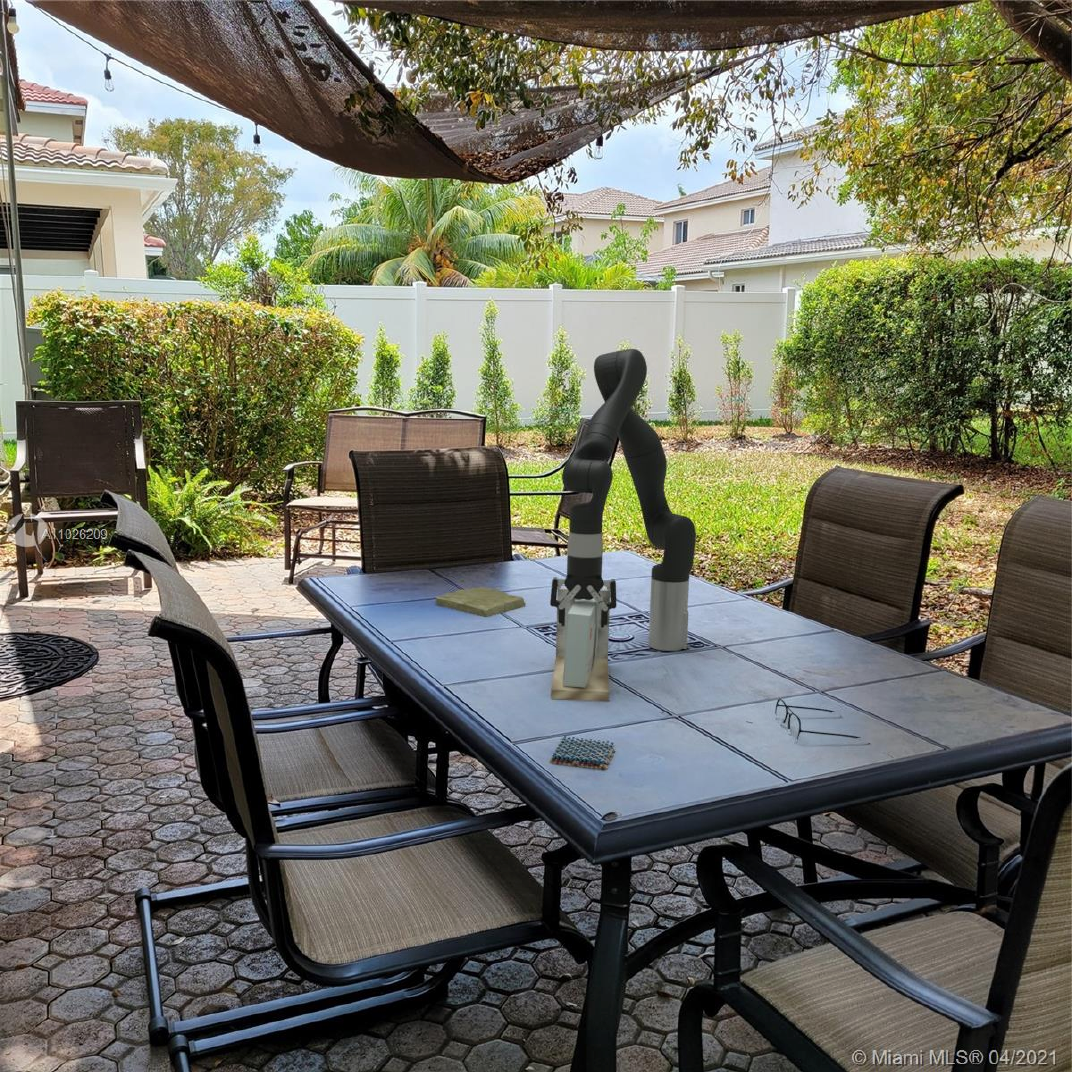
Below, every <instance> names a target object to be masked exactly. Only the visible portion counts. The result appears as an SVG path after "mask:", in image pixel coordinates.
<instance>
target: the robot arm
mask: <svg viewBox="0 0 1072 1072" xmlns="http://www.w3.org/2000/svg"><path fill="white" fill-rule="evenodd" d="M593 373H594V378H595V381H596V385H597V387H598V391H599V392H600V394H601V397H602V399H603V401H604V403H603V404H602V405H601V406H600V407H599V408H598V409H597V410H596V411H595V412H594V414H593V415H592V416H591V418H590V419H589V421H588V423H587V426H586V429H585V432H584V435H583V437H582V441H581V443H580V444H579V445H578V446H577V448H576V449H575V451H573V453H572V455H570V456H569V458H568V459H567V461H566V463H565V464H564V466H563V470H562V474H561V480H562V485H563V487H564V488H565V489H566V490H567V491H568V492H571V493H582V494H592V497H591V499H590V500H589V501H588V502H582V503H581V502H580V503H576V504H574V505H572V506H571V508H570V511H569V528H568V529H569V530H568V531H569V532H568V539H567V548H566V551H567V554H566V555H567V557H566V559H567V560H566V562H567V563H566V577H565V578H564V579H563V578H558V577H556V576H555V577H553V578H552V581H551V591H550V600H549V605H550V607H555V608H556V609H557V608H558V610H559V615H558V622H559V623H560V624H561V626H565V608H564V607H565V606H566V605H567V604H568V603H569V602H570V601H571V599H572V598H573V597H574V598H575V599H576V600H581V599H586V600H591V599H593V598H594V599H595V600H596V602H597V603H598V604H599V605H600V607H601V608H602V609H601V628H604V625H607V621H608V611H609V610H612V609H613V610H614V609H616V608H617V583H616V582H617V581H616V579H614V578H612V579H610V580H604V579H603V577H602V576H603V575H602V574H603V554H604V549H603V547H604V541H603V518H604V517H603V516H604V509H605V505H606V503H607V502H606V501H607V498H608V494H609V492H610V489H611V487H612V484H613V483H612V482H613V479H614V478H613V477H614V474H613V473H614V472H613V470H612V469H613V468H612V466H611V465H610V464H609V463H608V462H607V461H608V460H610V458H611V457H612V455H613V451H614V449H615V446H616V442H617V440H618V439H619V443H620V447H621V449H622V453H623V456H624V459H625V462H626V466H627V469H628V471H629V473H630V475H631V480H632V482H633V486H634V489H635V492H636V495H637V499H638V501H639V505H640V509H641V513H642V518H643V523H644V529H645V533H646V535H647V538H648V540H649V543H651V545H652V546H654V547H655V548H657V549H659V550H663V555H662V556H663V557H662V561H661V562H660V563H657V564H655V565H653V566H652V568H651V579H650V583H651V584H650V600H649V602H650V603H649V618H648V619H649V622H648V639H647V640H648V644H647V645H648V647H650V648H652V649H654V650H657V651H667V652H676V651H682V650H681V649H687V647H688V630H689V610H688V609H689V608H688V605H689V591H690V590H689V589H690V588H689V587H690V575H691V572H692V569H693V567H694V560H695V550H696V543H697V542H696V540H697V531H696V526H695V524H694V522H693V520H692V519H691V518H690V517H687V516H686V515H681V514H676V513H673V512H672V510H671V508H670V506H669V504H668V500H667V497H666V494H665V486H664V485H665V482H666V476H667V468H668V467H667V466H668V465H667V463H668V462H667V457H666V454H665V450H664V447H663V444H662V440H661V438H660V436H659V435H658V433H657V432H656V430H655V429H654V428H653V427H652V426H651V425H650V424H649V423H648V422H647V421H645V420H644V419H643V418H642V417H641V416H640V415H639V414H638V413H637V412H636V411H635V410H634V408H632V406H633V405H634V403H635V401H636V399H637V397H638V395H639V394H640V392H641V391H642V388H643V387H644V384H645V382H646V379H647V373H648V366H647V361H646V358H645V356H644V354H642V352H641V351H640V350H639V349H635V348H627V349H622V350H617V351H611V352H608V353H603V354H600V355H598V356H597V357H596V358H595V360H594V363H593ZM563 585H564V586H565V588H567V589H568V592H567V594H566V595H565V596H564V598H563V599H562V600H561V601H558V600H557V593H558V589H560V588H562V586H563ZM603 587H605V589H607V590H608V591H610V602H608V603H606V602H605V600H604V599H603V597H602V596H601V594H600V593H599V591H600V590H601V589H604V588H603ZM687 650H688V649H687Z"/></svg>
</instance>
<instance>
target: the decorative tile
mask: <svg viewBox="0 0 1072 1072" xmlns="http://www.w3.org/2000/svg"><path fill="white" fill-rule="evenodd" d="M526 604H527V603H526V602H525V598H524V597H523V596H518V595H517V596H516V595H511V594H508V593H506V592H504V591H501V590H500V589H497V588H496V589H494V588H492V589H491V588H488V587H480V586H478V587H473V588H468V589H458V590H456V591H454V592H447V593H445V594H442V595H440V596H436V597H435V605H436V606H438V605H439V607H443V608H446V607H447V608H446V609H450V608H451V610H454V609H455V611H458V610H459V611H460V612H463V613H467V612H469V613H468V614H471V613H473V614H472V615H475V614H476V616H479V615H480V616H479V617H483V618H489V617H493V615H494V616H496V614H497V615H500V614H499V613H501V614H503V613H502V612H504V613H507V612H512V611H515V610H518V609H521V608H525V607H526ZM459 611H458V612H459Z"/></svg>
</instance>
